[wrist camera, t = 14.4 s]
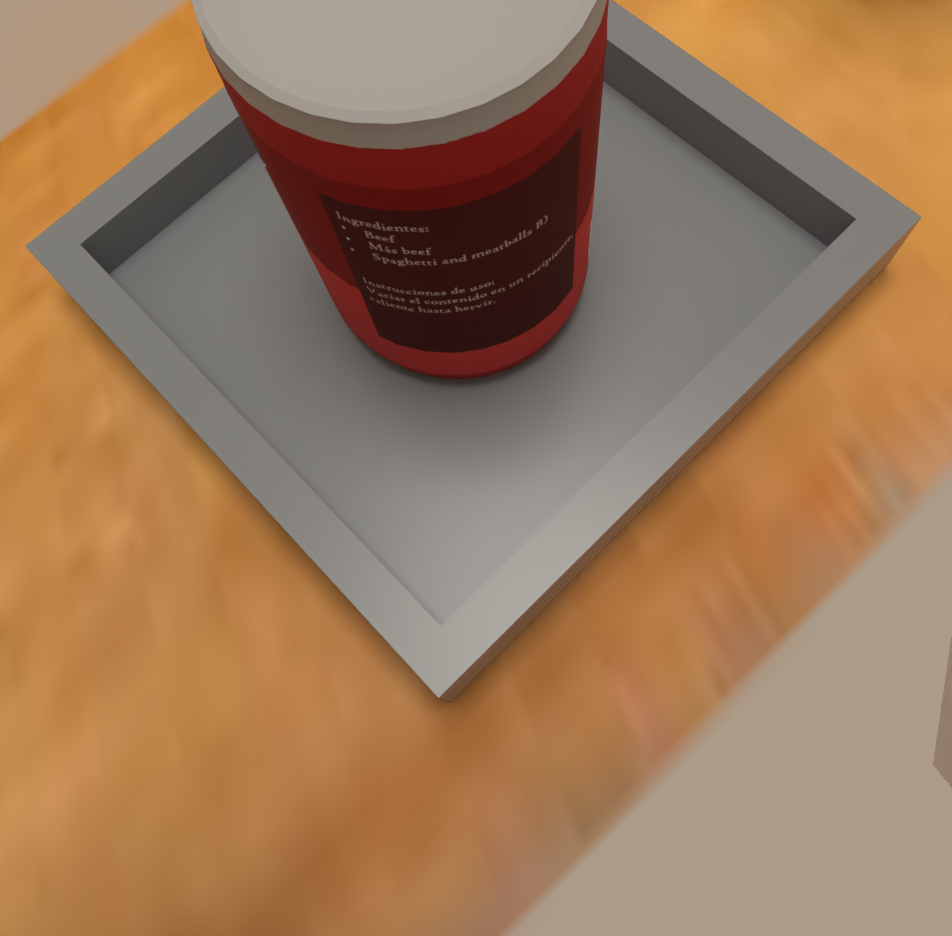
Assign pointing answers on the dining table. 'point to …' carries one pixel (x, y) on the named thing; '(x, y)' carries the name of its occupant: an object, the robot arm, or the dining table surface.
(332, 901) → the dining table surface
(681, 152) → the tray
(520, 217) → the canned food
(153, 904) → the dining table surface
